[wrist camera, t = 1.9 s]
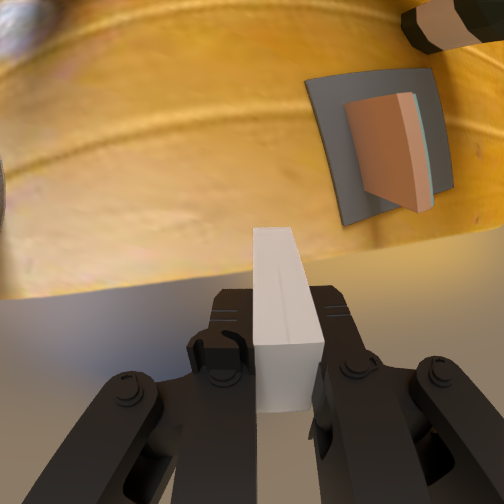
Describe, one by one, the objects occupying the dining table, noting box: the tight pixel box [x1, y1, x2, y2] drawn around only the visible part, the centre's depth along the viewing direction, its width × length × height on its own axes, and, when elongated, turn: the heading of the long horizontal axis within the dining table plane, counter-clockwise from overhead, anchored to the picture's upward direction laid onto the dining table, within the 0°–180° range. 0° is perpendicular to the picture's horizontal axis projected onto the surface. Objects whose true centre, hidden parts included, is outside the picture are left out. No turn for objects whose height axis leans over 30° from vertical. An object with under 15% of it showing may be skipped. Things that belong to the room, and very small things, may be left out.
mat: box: [304, 68, 454, 226], centre depth 34 cm, size 22×20×1 cm
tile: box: [344, 92, 434, 213], centre depth 28 cm, size 2×12×12 cm, turn 17°
